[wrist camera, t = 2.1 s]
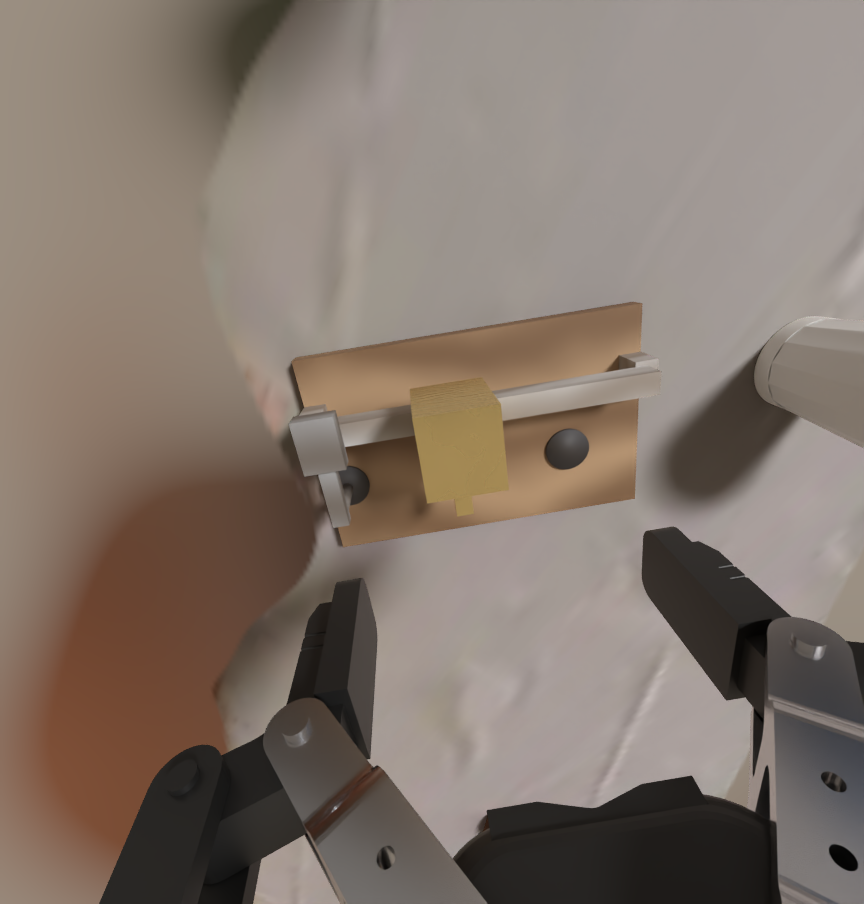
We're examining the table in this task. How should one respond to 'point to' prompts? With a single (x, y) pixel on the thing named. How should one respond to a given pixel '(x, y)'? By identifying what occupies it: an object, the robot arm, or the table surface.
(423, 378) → the board
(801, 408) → the cup
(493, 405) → the sliding block
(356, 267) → the table surface
